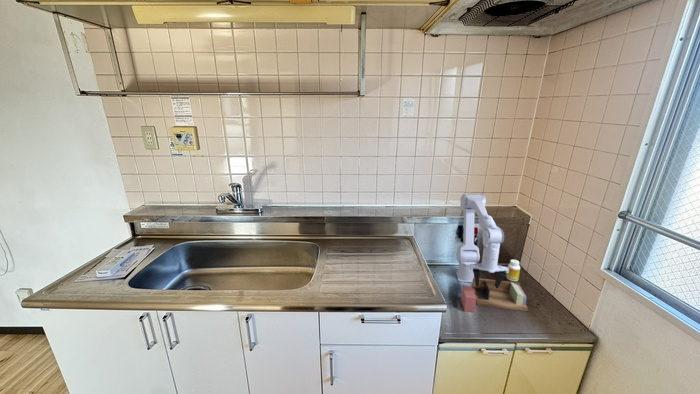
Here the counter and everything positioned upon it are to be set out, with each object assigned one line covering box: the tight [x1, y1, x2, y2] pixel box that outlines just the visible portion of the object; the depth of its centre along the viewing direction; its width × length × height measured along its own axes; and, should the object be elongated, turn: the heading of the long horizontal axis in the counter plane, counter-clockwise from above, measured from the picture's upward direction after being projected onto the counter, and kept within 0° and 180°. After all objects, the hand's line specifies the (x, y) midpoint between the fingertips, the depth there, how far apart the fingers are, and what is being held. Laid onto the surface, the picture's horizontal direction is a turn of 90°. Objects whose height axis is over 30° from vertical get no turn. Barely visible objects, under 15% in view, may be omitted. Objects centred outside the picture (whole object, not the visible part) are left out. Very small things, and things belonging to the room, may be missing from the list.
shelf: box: [471, 277, 529, 312], centre depth 125 cm, size 12×20×6 cm, turn 78°
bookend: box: [475, 280, 490, 300], centre depth 128 cm, size 8×4×5 cm, turn 168°
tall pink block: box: [460, 284, 477, 314], centre depth 122 cm, size 9×4×7 cm, turn 168°
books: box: [509, 283, 527, 305], centre depth 124 cm, size 9×4×5 cm, turn 168°
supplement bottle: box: [505, 259, 521, 282], centre depth 141 cm, size 5×5×10 cm
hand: (486, 286), depth 118 cm, fingers open, 7 cm apart
